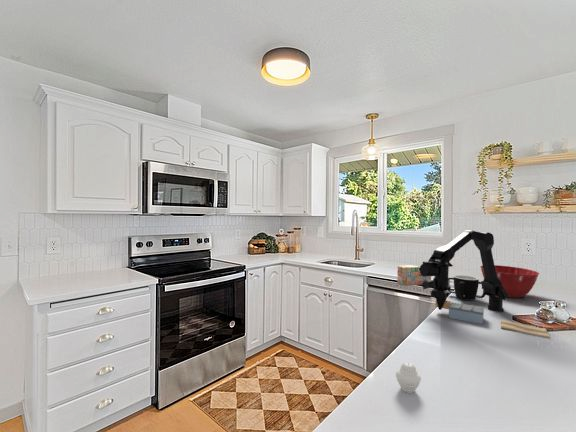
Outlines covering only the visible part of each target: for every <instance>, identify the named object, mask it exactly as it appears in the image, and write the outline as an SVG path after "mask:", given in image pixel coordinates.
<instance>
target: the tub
mask: <svg viewBox="0 0 576 432" xmlns="http://www.w3.org/2000/svg"><path fill="white" fill-rule="evenodd" d="M484 312H485V311H484ZM484 312H483V315H480V314H474V313H469V312H463V311H458V310H452V309H448V318H449V319H452V320H453V319H454V320H458V321H459V320H460V321H463V322H468V323H469V322H470V323H474V324H479V325H484V316H485V315H484Z"/></svg>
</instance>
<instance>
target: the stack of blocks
mask: <svg viewBox="0 0 576 432" xmlns="http://www.w3.org/2000/svg"><path fill="white" fill-rule="evenodd" d="M419 268H420V266H417V265H398V266H397V275H396V276H397V282H396V283H397V284H398V285H401V286H403V287H406V286H409V287H410V286H422V282H423V281H426V280H427V281H428V280H432V276H422V275H421V274H420V271H419Z"/></svg>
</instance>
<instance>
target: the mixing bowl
mask: <svg viewBox="0 0 576 432" xmlns="http://www.w3.org/2000/svg"><path fill="white" fill-rule="evenodd" d="M494 266H495V271H496V276H497V278H498V279H499V280H500V281H501V283H502V285H503V288H504V290H505V291H506V293H507V294H508V298H512V299H513V298H514V299H516V298H517V299H520V298H522V297H526V296H527V295H528V294H529V293H530V292H531V290H532V289H533V288H534V286H535V284H536V282H537V279H538V277H539V275H540V272H538V271H536V270H533V269H527V268H523V267H516V266H509V265H500V264H499V265H498V264H497V265H496V264H494ZM480 270H481V273H482V278H483V279H484V278H485V275H484V270H483V265H481V266H480Z"/></svg>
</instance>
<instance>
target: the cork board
mask: <svg viewBox="0 0 576 432" xmlns="http://www.w3.org/2000/svg"><path fill="white" fill-rule="evenodd" d="M539 327H540V326H537V327H536V325H532V324H531V325H530V324H526V323H522V322H521V323H519V322H514V321H509V320H503V319H500V329H502V330H506V331H511V332H517V333H522V334H527V335H531V336H535V337H541V338H546V339H550V335H549V333H548V331H547V329H546V328H545V327H543V328H539Z"/></svg>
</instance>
